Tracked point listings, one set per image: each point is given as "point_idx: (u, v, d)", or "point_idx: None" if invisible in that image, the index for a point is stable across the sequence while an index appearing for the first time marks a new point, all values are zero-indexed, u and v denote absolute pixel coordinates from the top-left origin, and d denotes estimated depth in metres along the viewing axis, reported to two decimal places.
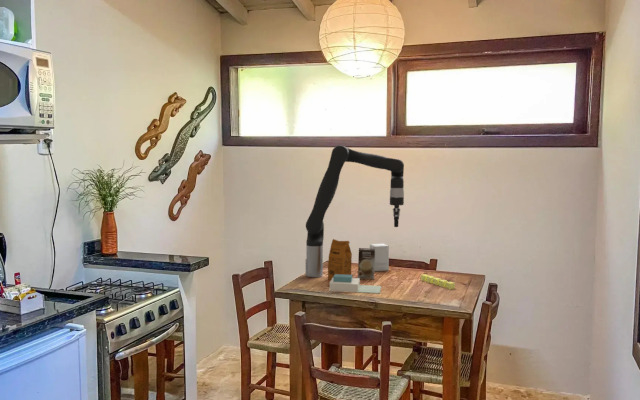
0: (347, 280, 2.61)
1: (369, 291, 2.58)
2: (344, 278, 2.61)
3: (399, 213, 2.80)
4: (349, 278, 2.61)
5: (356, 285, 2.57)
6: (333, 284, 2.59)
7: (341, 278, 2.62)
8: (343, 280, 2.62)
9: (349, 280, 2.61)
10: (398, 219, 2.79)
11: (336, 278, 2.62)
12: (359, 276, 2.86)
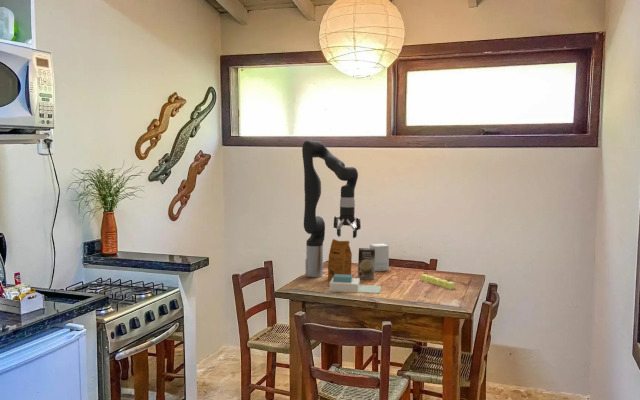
0: (347, 280, 2.61)
1: (369, 291, 2.58)
2: (344, 278, 2.61)
3: None
4: (349, 278, 2.61)
5: (356, 285, 2.57)
6: (333, 284, 2.59)
7: (341, 278, 2.62)
8: (343, 280, 2.62)
9: (349, 280, 2.61)
10: (357, 229, 2.68)
11: (336, 278, 2.62)
12: (359, 276, 2.86)
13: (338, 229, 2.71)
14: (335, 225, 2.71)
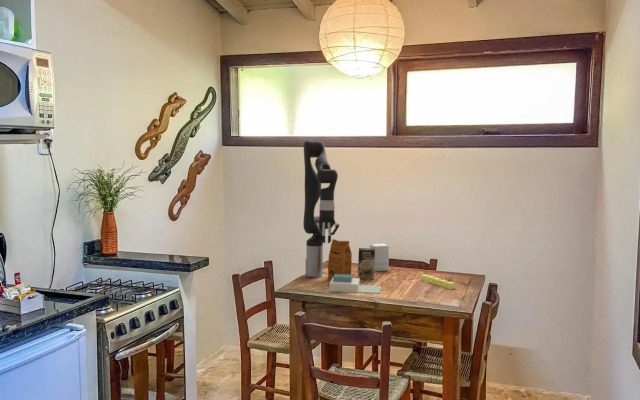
0: (347, 280, 2.61)
1: (369, 291, 2.58)
2: (344, 278, 2.61)
3: None
4: (349, 278, 2.61)
5: (356, 285, 2.57)
6: (333, 284, 2.59)
7: (341, 278, 2.62)
8: (343, 280, 2.62)
9: (349, 280, 2.61)
10: (330, 235, 2.65)
11: (336, 278, 2.62)
12: (359, 276, 2.86)
13: (323, 235, 2.64)
14: (320, 232, 2.63)
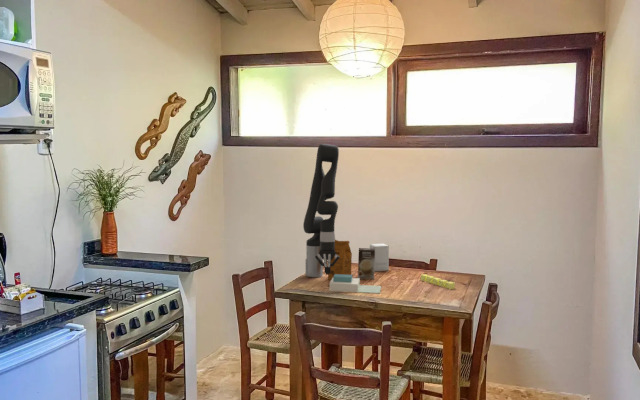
0: (347, 280, 2.61)
1: (369, 291, 2.58)
2: (344, 278, 2.61)
3: None
4: (349, 278, 2.61)
5: (356, 285, 2.57)
6: (333, 284, 2.59)
7: (341, 278, 2.62)
8: (343, 280, 2.62)
9: (349, 280, 2.61)
10: None
11: (336, 278, 2.62)
12: (359, 276, 2.86)
13: None
14: (323, 263, 2.64)
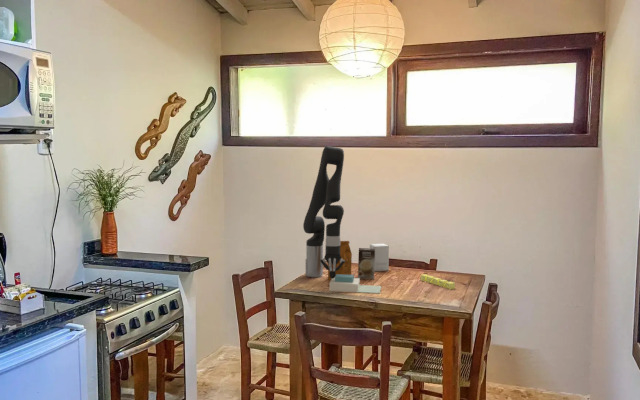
0: (348, 280, 2.61)
1: (369, 291, 2.58)
2: (345, 278, 2.61)
3: None
4: (350, 278, 2.61)
5: (356, 285, 2.57)
6: (333, 284, 2.59)
7: (343, 278, 2.61)
8: (344, 280, 2.61)
9: (350, 280, 2.61)
10: None
11: (337, 278, 2.62)
12: (359, 276, 2.86)
13: None
14: (328, 267, 2.64)
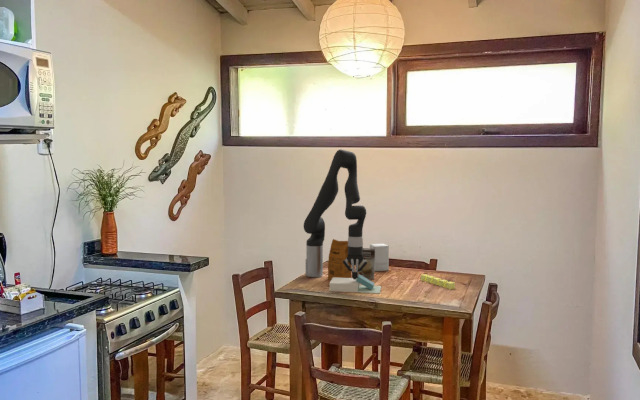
0: (369, 286, 2.60)
1: (369, 291, 2.58)
2: (367, 283, 2.60)
3: None
4: (371, 285, 2.60)
5: (356, 285, 2.57)
6: (333, 284, 2.59)
7: (365, 282, 2.60)
8: (365, 284, 2.61)
9: (370, 287, 2.60)
10: None
11: (360, 279, 2.61)
12: None
13: (353, 272, 2.63)
14: (350, 268, 2.62)
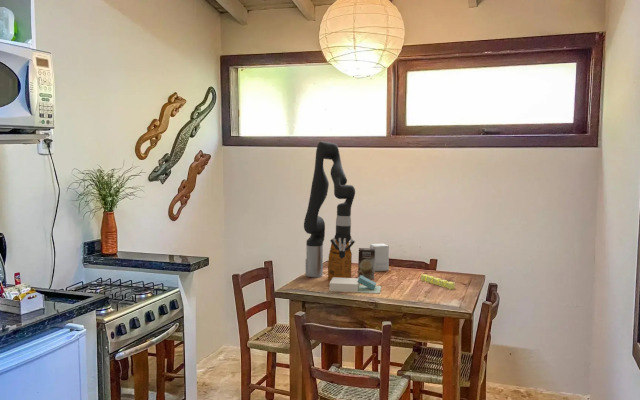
0: (370, 286, 2.60)
1: (369, 291, 2.58)
2: (368, 283, 2.60)
3: None
4: (373, 285, 2.60)
5: (356, 285, 2.57)
6: (333, 284, 2.59)
7: (366, 282, 2.60)
8: (367, 285, 2.60)
9: (372, 287, 2.60)
10: None
11: (361, 280, 2.61)
12: (359, 276, 2.86)
13: None
14: (338, 247, 2.64)
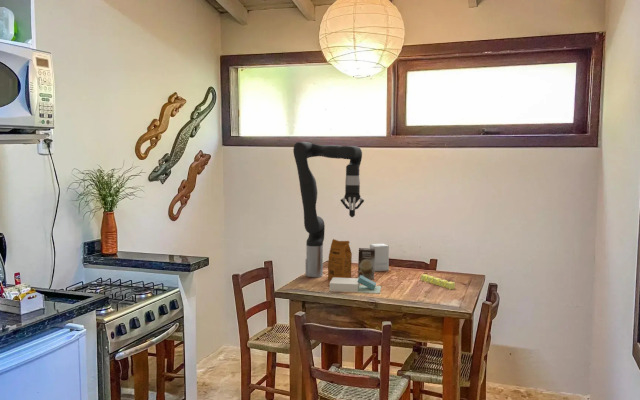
0: (370, 286, 2.60)
1: (369, 291, 2.58)
2: (368, 283, 2.60)
3: (355, 202, 2.76)
4: (373, 285, 2.60)
5: (356, 285, 2.57)
6: (333, 284, 2.59)
7: (366, 282, 2.60)
8: (367, 285, 2.60)
9: (372, 287, 2.60)
10: None
11: (361, 280, 2.61)
12: (359, 276, 2.86)
13: (351, 210, 2.75)
14: (348, 206, 2.74)
